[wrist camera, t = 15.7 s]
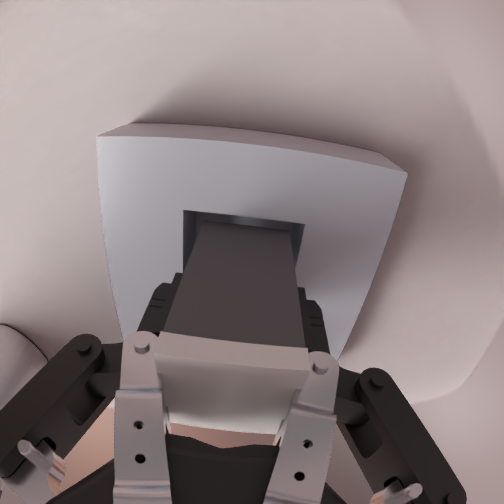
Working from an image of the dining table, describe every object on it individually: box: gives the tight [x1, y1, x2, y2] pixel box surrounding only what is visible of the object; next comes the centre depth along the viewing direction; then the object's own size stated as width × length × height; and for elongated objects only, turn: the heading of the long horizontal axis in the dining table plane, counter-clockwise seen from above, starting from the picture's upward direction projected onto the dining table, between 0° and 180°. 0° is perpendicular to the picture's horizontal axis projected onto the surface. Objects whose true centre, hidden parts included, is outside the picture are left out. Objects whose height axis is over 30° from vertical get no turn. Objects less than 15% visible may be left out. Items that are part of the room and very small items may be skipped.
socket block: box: [96, 123, 408, 361], centre depth 18 cm, size 14×18×4 cm
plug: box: [153, 220, 310, 434], centre depth 12 cm, size 4×4×8 cm
